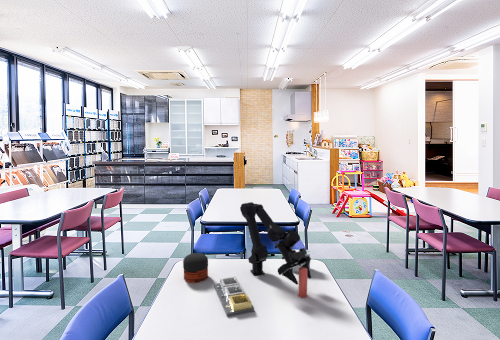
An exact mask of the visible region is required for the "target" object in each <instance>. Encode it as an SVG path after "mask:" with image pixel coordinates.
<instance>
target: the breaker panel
mask: <svg viewBox="0 0 500 340" xmlns="http://www.w3.org/2000/svg"><path fill="white" fill-rule="evenodd" d="M213 287H214V290H215V292H216V295H217V297H218V299H219V302H220V304H221V306H222V308H223V310H224V313H225V315H226V317H231V316H237V315H238V316H239V315H242V314H243V315H244V314H247V313H253V312H255V307H254V305H253V303H252V301H251V299H250V298H249V296H248V294H247V293H246V291H245V289H244V288H243V286H242V285H241V283H240V281H239V280H238V278H237V277H236V276H229V277H222V278H219V283H214V284H213Z"/></svg>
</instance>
